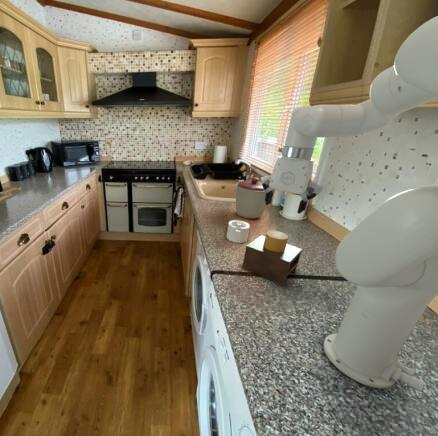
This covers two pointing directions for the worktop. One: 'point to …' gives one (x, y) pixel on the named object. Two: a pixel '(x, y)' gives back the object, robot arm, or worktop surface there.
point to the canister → (250, 198)
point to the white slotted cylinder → (238, 231)
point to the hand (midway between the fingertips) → (283, 208)
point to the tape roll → (275, 241)
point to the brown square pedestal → (271, 260)
